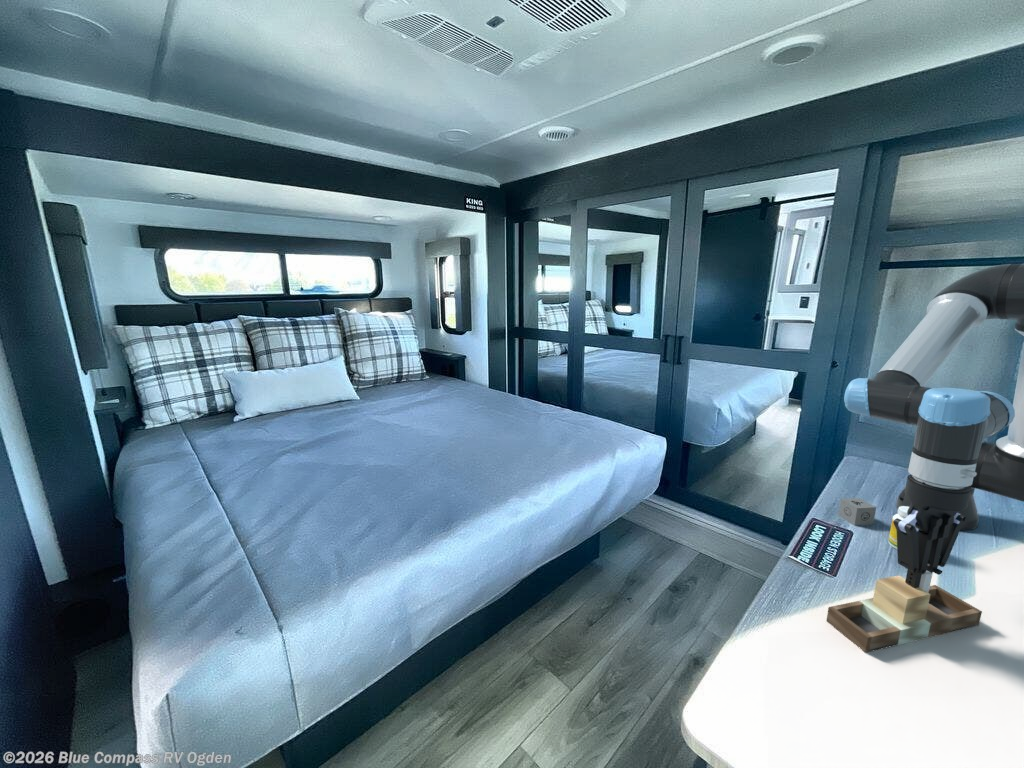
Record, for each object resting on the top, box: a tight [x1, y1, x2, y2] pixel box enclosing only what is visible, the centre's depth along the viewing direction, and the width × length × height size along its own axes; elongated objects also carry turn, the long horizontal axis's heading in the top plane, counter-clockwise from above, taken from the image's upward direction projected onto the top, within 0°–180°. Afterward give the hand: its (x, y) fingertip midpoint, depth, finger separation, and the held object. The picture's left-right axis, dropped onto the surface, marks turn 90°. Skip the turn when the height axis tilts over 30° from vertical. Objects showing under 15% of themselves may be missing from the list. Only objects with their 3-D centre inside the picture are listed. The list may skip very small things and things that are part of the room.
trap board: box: [826, 584, 983, 653], centre depth 74 cm, size 25×7×3 cm, turn 101°
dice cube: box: [838, 497, 877, 527], centre depth 107 cm, size 5×5×5 cm
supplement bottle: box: [887, 506, 909, 550], centre depth 95 cm, size 5×5×10 cm
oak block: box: [872, 575, 931, 624], centre depth 73 cm, size 5×5×5 cm
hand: (914, 600), depth 74 cm, fingers closed
